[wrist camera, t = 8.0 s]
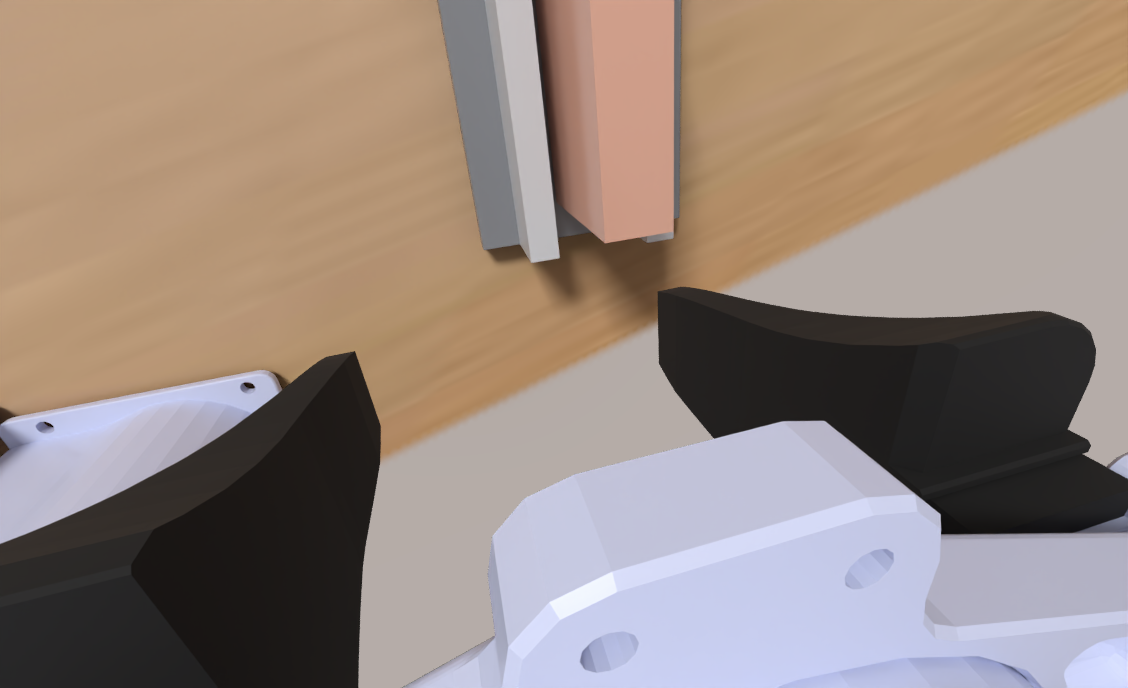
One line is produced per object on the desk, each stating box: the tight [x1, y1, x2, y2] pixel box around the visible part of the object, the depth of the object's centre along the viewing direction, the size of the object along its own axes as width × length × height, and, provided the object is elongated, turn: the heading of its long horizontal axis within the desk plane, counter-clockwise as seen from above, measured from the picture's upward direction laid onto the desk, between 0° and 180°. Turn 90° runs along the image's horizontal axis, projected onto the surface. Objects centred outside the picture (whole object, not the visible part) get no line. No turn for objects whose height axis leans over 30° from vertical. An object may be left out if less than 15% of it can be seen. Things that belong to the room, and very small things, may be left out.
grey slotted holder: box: [437, 0, 681, 263], centre depth 16 cm, size 8×11×4 cm
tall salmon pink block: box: [535, 0, 674, 243], centre depth 14 cm, size 2×8×6 cm, turn 6°
